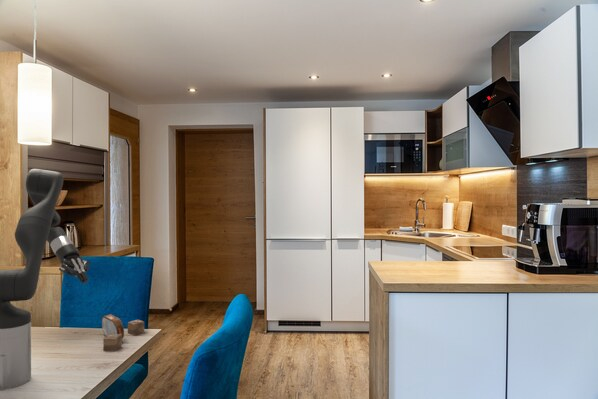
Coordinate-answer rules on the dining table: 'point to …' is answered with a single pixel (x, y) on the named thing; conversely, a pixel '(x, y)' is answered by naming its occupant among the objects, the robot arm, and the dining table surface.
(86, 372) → the dining table surface
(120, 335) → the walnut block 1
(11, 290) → the robot arm
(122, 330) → the tin
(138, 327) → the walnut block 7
